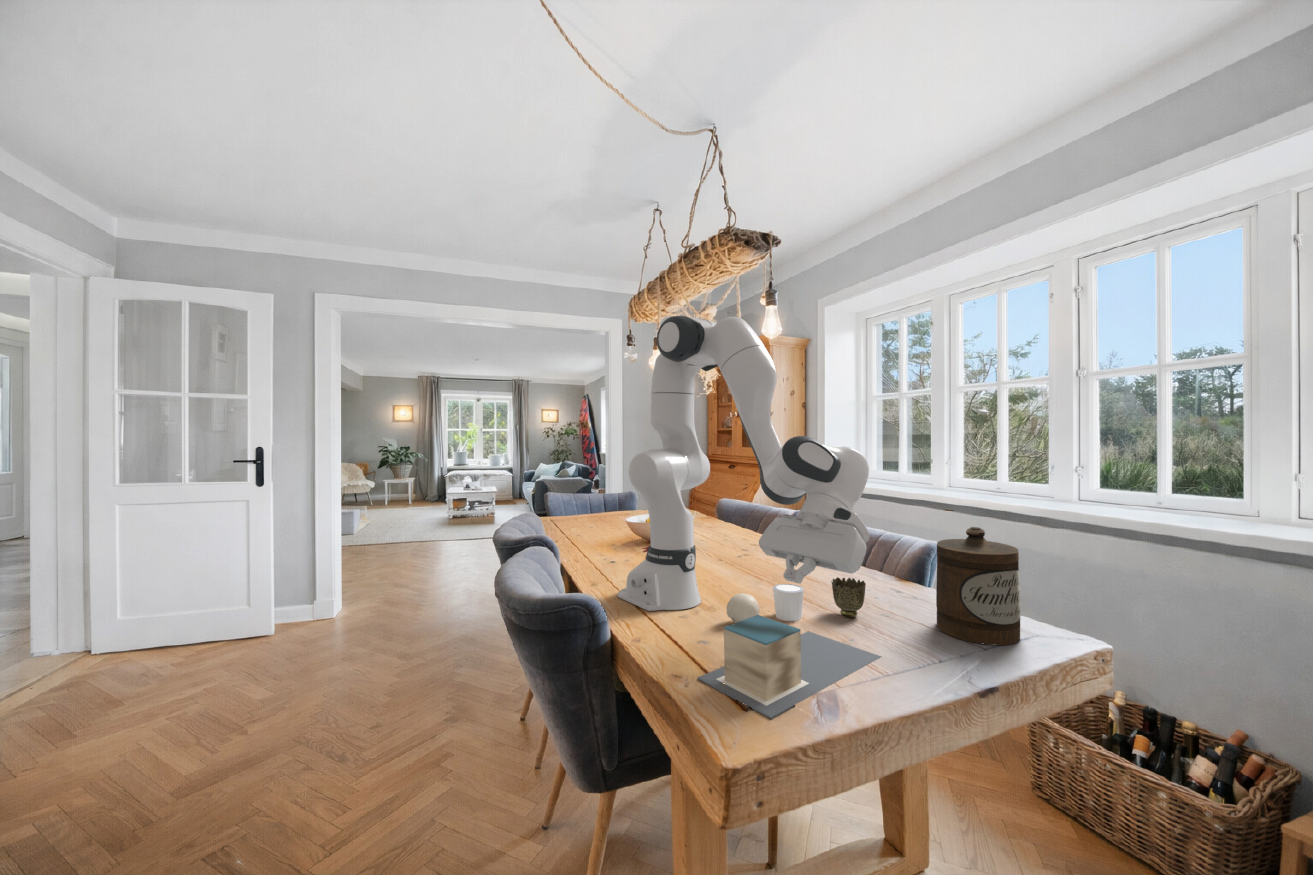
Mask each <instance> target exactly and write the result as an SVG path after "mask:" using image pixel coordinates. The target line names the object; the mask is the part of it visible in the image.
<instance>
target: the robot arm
mask: <svg viewBox="0 0 1313 875" xmlns="http://www.w3.org/2000/svg"><path fill="white" fill-rule="evenodd" d="M656 334H657V335H656V346H657V349H658V351H659V353H660V354H658V355H657V356H656V358H655V363H654V367H653V372H652V378H651V392H650V393H651V396H650V424H651V426H652V428H653V429H654V430H655V431H656V432H657V433H658V435H659V438H660V440H661V444H662V448H655V449H649V450H645V451H643V452H640V453H638V454H635V455H634V457H633V458H631V461H630V462H629V466H628V477H629V481H630V484H631V485H632V487H633V488H634V489H635V490H637V492H638V493H639V494H640V496H642V499H643V501H644V503H645V505H646V508H647V512H648V516H649V529H650V530H649V531H650V532H649V533H650V536H649V537H650V545H648V546H646V547H643V548H642V549H643V551H642V553H646V555H645V559H644V560H643V561H641V562H640V563H639V564H638V565H636V566H635V567H634V568H633V569H631V570H630V571H629V573H628V574H627V578H626V585H625V586H626V587H624V588H622V589H621V590H619V591H618V592H617V596H616V597H617V598H619V599H621V600H624V601H626V602H628V603H630V604H632V605H634V606H637V607H639V608H641V609H644V610H645V611H649V612H651V611H653V612H654V611H678V610H685V609H690V608H694V607H696V606H699V605H700V604H701V602H702V599H701V595H700V592H699V587H698V581H697V575H696V574H697V573H696V559H697V550H696V545H695V544H694V541H695V539H694V536H695V534H694V531H695V530H694V528H695V527H694V515H693V514H692V512H691V511H690V510H689V508H686V505H685V503H684V502H683V499H682V494H681V493H682V492H681V491H686V490H692V489H694V488H696V487H698V486H700V485H702V484H704V483H705V482H706V481H707V480H708V478H709V476H710V473H711V463H710V460H709V458H708V457H707V455H706V454H705V453H704V451H703V450H702V448H701V446H700V443H699V440H698V436H697V432H696V425H695V392H696V391H695V389H696V388H695V382H696V376H697V374H698V372H699V371H700V370H703V371H704V372H709V371H711V370H713V369H715V368H718V369H719V370H720V373H721V376H723V379H724V380H725V383H726V385H727V387H728V389H729V392H730V394H731V396H732V399H733V402H734V405H735V408H736V411H737V413H738V416H739V419H740V423H741V425H742V429H743V431H744V433H745V435H746V437H747V440H748V443H749V445H750V447H751V449H752V452H753V456H754V457H755V459H756V462H757V465H758V470H759V482H760V483H759V484H760V486H761V489H762V492H763V493H764V494H765V495H766V496H767V498H768V499H770V500H771V501H772V502H775V503H777V504H780V505H785V506H789V505H794V504H798V503H799V502H800V501H801V500H802V499H803V498H804V496H806V494H807V496H806V498H805V500H804V502H803V504H802V506H801V508H800V510H799V511H798V513H797V514H796V515H790V514H786V513H784V514H781V516H778V517H777V516H776V517H775V518H774V520H773V521H772V522H771V523H770V524H769V525H768V526H767V527H766V529H765V530H764V531H763V533H762V534H761V536H760V538H759V539H758V545H759V548H760V549H761V550H762V552H763V553H764V555H766V556H768V557H769V556H770V557H774V558H778V559H783V560H785V567H786V569H785V570H784V571H783V572H784V573H782V574H783V578H784V579H785V581H788V582H792V583H795V584H800V585H801V584H802V582H803V580H804V579H805V577H806V576H809V575H810V574H811V573H812V572H814V571H815V569H816V567H820V568H823V569H827V570H833V571H837V572H841V573H842V572H843V573H847V574H855V573H856V572H857V571H859V570H860V569H861V567H862V564H863V562H864V559H865V556H866V553H867V547H868V546H867V543H868V542H869V540H870V538H871V534H870V531H869V530H868V528H867V526H866V525H865V523H864V521H863V520H862V518H861V517H860V516H859V515H858V513H856V512H854V511H853V509H854V507H855V506H856V505H857V504H858V503H859V501H860V499H861V497H862V495H863V494H864V490H865V487H866V485H867V482H868V479H869V475H870V469H869V468H870V467H869V463H868V461H867V458H866V457H864V455H863V454H862V453H860V452H859V451H858V450H856V449H854V448H852V447H849V446H840V447H838V446H837V447H835V446H830V445H828V444H827V445H826V444H823V443H821V442H819V441H818V440H816V439H815V438H813V437H810V436H806V435H798V436H793V437H790V438H789V439H788V440H787V441H785V443H784V444H783V445H782V444H781V441H780V439H779V437H778V434H777V432H776V430H775V428H774V425H773V422H772V416H771V415H772V414H771V410H772V404H773V403H772V402H773V398H774V394H775V390H776V386H777V382H778V380H777V379H778V374H777V370H776V367H775V363H774V360H773V358H772V356H771V355H770V353H769V351H768V349H767V348H766V345H764V342H763V341H762V340H761V338H760V336H759V335H758V334H757V332H756V331H755V330H754V329H753V328H752V326H750V324H749V323H748V322H747V321H746V320H744V319H743V318H741V317H739V316H728V317H726V318H723V319H721V320H719V321H717V322H715V321H712V320H709V319H705V318H698V317H697V318H696V317H688V316H686V315H676V316H675V315H674V316H669V317H668V318H666V319H665V320H664V321H662V323H661V325H660V326H659V328H658V331H657V333H656ZM799 563H801V564H802V565H801V566H800V567H799V568H797V569H795V567H797V566H798V565H799Z"/></svg>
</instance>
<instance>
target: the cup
mask: <svg viewBox="0 0 1313 875" xmlns="http://www.w3.org/2000/svg"><path fill="white" fill-rule="evenodd" d="M830 583H831V588H832V589H831V590H832V595H833V596H832V597H833V600H834V603H835V605H836V606H837V607H838V609H840V615H841V616H842V617H845V618H849V619H852V618H856V617H857V616H858V611H859V610H860V609H862V607H863V605H864V602H865V595H866V584H867V583H866V582H865V580H862V581H861V580H860V579H858V580H856V579H855V578H853V577H852V578H851V577H848V578H847V579H846V578H845V577H842V579H841V578H840V577H839V576H837V577H836V578H834V577H832V580H831V582H830Z"/></svg>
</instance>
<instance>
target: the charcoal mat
mask: <svg viewBox="0 0 1313 875" xmlns="http://www.w3.org/2000/svg"><path fill="white" fill-rule="evenodd" d="M800 636H801V683H800V684H798V685H796V686H794V687H792V688H790V689H789V690H787V691H785V692H783V693H781V694H779V695H777V696H775V697H773V698H772V699H770V700H768V701H766V700H764V699H762V698H760V697H758V696H756V695H754V694H752V693H750V692H748V691H746V690H744V689H742V688H740V687H738V686H736V685H734V684H732V683H730V682H728V681H726V680H725V668H724V666H722V667H719V668H717V669H714V670H713V671H712V670H711V671H709V672H707V673H705V674H703V675H699V676H698V677H697V680H698V681H700V682H702V683H703V684H706V685H707V686H708V687H711V688H713V689H714V690H716V691H719V692H720V693H722V694H724V695H726V696H727V697H729V698H731V699H733V700H735V701H736V700H738V701H740V702H742V703H744V704H746V705H747V706H749V707H751V708H752V709H751V708H750V709H751V710H753V711H755V712H757V713H759V714H760V715H762V716H764V717H766V718H768V719H770V720H774V718H776V717H779V716H780V715H782V714H784V713H787V711H789V710H791V709H793V708H794V707H796V705H797V704H799V703H801V702H803V701H805V700H806V699H809V697H811V696H813V695H815V694H817V693H819V692H821V691H823V690H824V689H826V688H828V687H829V686H831V685H833V684H835V683H837V682H839V681H840V680H842V679H844V678H847V677H849V675H851V674H853V673H856V672H857V671H859V670H860V669H862V668H865V667H866V666H869V665H870V664H872V663H873V662H875V661H877V660H878V659H879V660H880V658H882V657H883V656H881V655H878V654H875V653H873V652H870V651H866V650H864V649H862V648H859V647H855V646H852V645H850V644H846V643H843V642H841V641H838V640H835V639H832V638H830V637H826V636H824V635H821V634H818V633H815V632H813V631H806V632H802V634H801V633H800ZM723 683H725V684H723ZM738 701H737V702H738ZM740 702H739V703H740ZM742 703H741V704H742ZM744 704H743V705H744ZM746 705H745V706H746ZM747 706H746V707H747ZM749 707H748V708H749Z"/></svg>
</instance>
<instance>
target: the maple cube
mask: <svg viewBox="0 0 1313 875" xmlns="http://www.w3.org/2000/svg"><path fill="white" fill-rule="evenodd" d="M800 635H801V628H798V627H796V626H792V625H789V624H787V623H784V622H780V621H778V620H774V619H772V618H769V617H766V616H763V615H760V614H759V615H756V616H754V617H751V618H748V619H745V620H742V621H740V622H737V623H735V622H734V623H732V624H728V625H726V626H723V646H724V648H723V653H724V654H723V656H724V657H723V658H724V660H723V661H724V666H723V667H724V668H725V680H726V681H728V682H730V683H732V684H734V685H736V686H738V687H740V688H742V689H744V690H746V691H748V692H750V693H752V694H754V695H756V696H758V697H760V698H762V699H764V700H766V701H768V700H770V699H772V698H773V697H775V696H777V695H779V694H781V693H783V692H785V691H787V690H789V689H790V688H792V687H794V686H796V685H798V684H800V683H801V636H800Z"/></svg>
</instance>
